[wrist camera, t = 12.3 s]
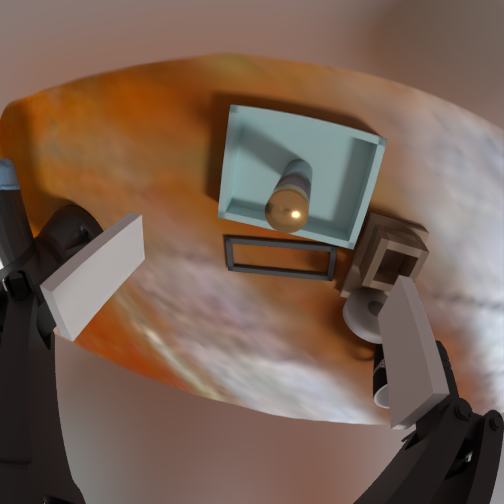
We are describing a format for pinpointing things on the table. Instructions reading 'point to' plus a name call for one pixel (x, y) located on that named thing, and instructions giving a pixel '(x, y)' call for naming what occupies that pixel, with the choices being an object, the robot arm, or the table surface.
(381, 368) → the mug
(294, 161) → the pin
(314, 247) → the dark gray rectangular frame
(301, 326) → the table surface
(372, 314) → the tensioner block
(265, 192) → the tray
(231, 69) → the table surface
